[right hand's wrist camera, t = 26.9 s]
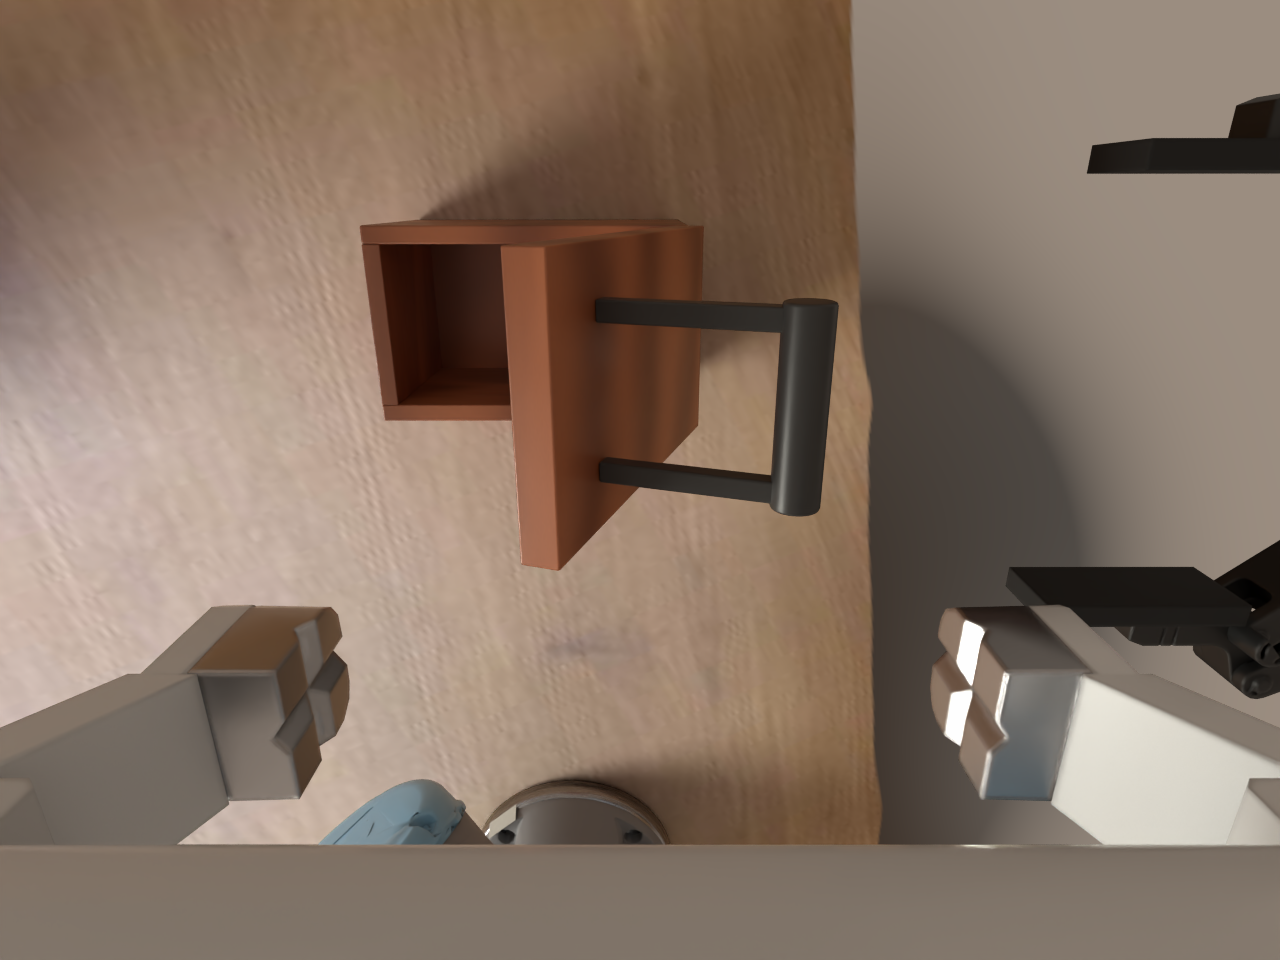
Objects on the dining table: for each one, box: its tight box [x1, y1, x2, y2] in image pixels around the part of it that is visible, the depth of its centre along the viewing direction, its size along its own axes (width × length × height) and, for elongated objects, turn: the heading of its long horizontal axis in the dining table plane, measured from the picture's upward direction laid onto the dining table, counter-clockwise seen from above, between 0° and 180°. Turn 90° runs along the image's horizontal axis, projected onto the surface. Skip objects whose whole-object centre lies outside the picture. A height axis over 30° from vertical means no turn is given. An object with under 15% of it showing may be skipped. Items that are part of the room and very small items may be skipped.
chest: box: [360, 220, 688, 421], centre depth 39 cm, size 15×9×9 cm, turn 90°
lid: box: [501, 226, 839, 571], centre depth 26 cm, size 16×9×8 cm
